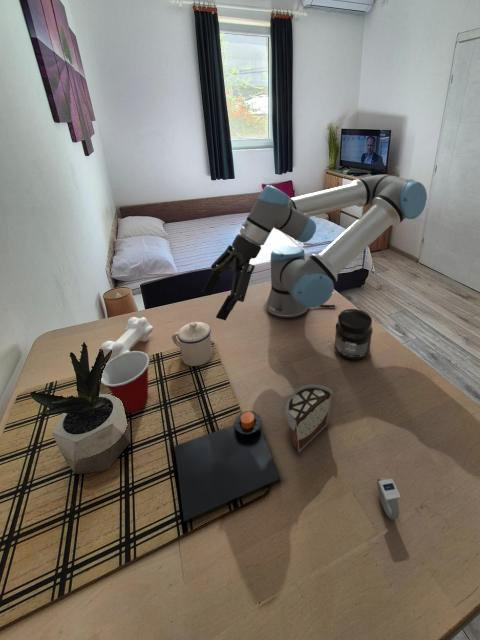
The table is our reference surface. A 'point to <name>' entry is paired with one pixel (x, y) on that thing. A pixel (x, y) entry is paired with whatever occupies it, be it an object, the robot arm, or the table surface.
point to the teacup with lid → (194, 343)
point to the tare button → (247, 420)
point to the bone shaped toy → (129, 337)
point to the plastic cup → (128, 379)
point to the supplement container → (353, 335)
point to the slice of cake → (307, 413)
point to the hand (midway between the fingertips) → (212, 305)
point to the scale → (223, 468)
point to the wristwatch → (389, 496)
